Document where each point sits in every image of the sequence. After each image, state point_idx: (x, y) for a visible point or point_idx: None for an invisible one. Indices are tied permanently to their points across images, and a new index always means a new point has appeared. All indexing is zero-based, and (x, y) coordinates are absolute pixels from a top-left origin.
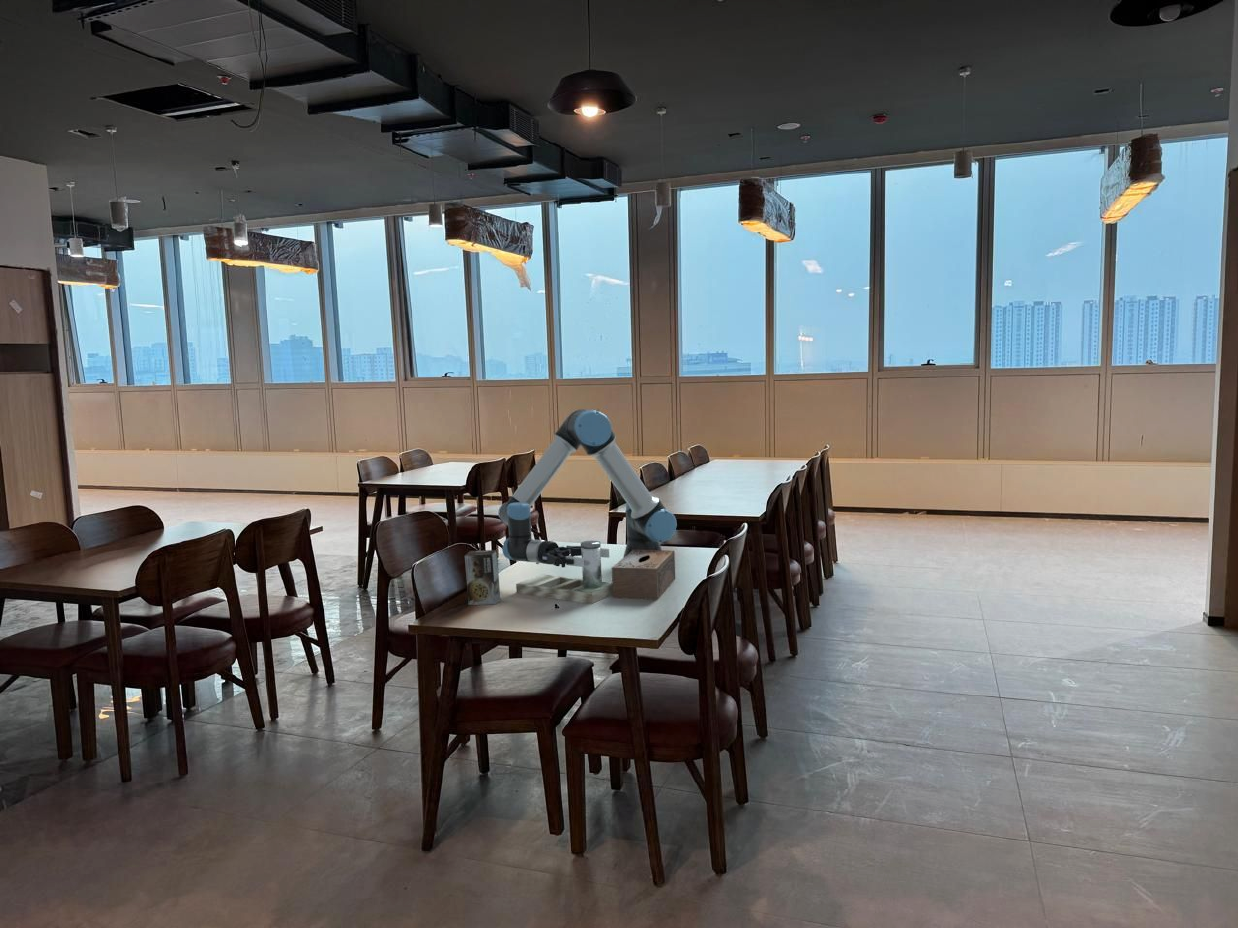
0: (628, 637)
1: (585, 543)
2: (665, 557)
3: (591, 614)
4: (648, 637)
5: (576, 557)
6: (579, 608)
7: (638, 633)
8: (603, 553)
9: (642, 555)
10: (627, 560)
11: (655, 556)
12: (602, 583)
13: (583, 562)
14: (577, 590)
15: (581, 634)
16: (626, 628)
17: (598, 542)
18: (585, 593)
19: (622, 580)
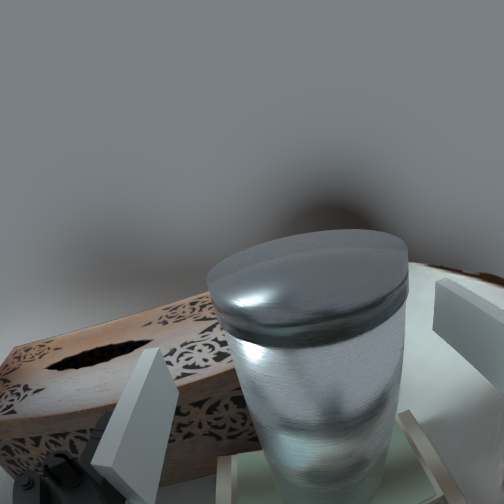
0: (431, 268)
1: (363, 251)
2: (84, 330)
3: (447, 354)
4: (408, 264)
5: (475, 297)
6: (457, 407)
7: (412, 272)
8: (163, 397)
9: (46, 377)
10: (123, 380)
11: (67, 349)
12: (260, 484)
13: (439, 305)
14: (424, 474)
15: (491, 286)
16: (418, 286)
17: (259, 248)
18: (416, 426)
19: None
